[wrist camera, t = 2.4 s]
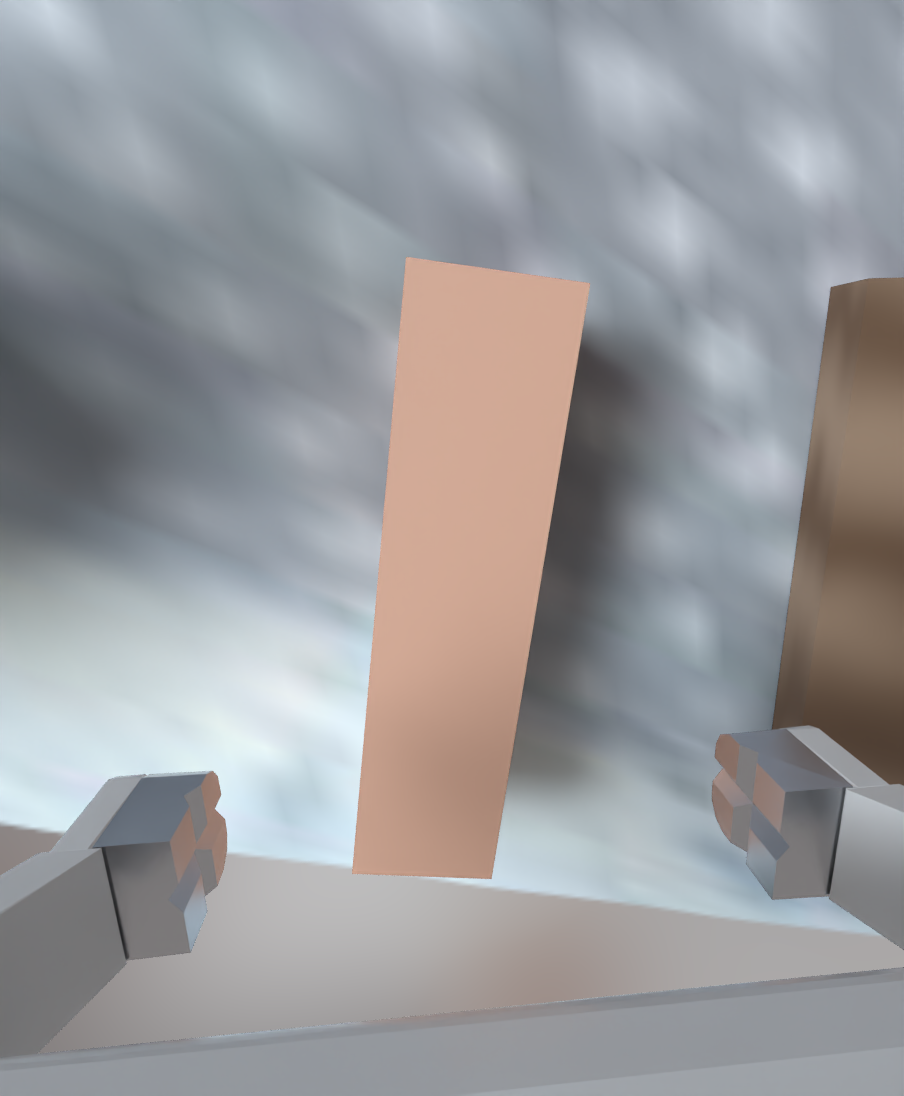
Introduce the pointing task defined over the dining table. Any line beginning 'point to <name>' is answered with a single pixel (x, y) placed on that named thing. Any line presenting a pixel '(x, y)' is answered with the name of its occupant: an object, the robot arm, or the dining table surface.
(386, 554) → the beam
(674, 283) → the dining table surface
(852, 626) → the wooden post stand
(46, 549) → the dining table surface
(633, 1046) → the robot arm
